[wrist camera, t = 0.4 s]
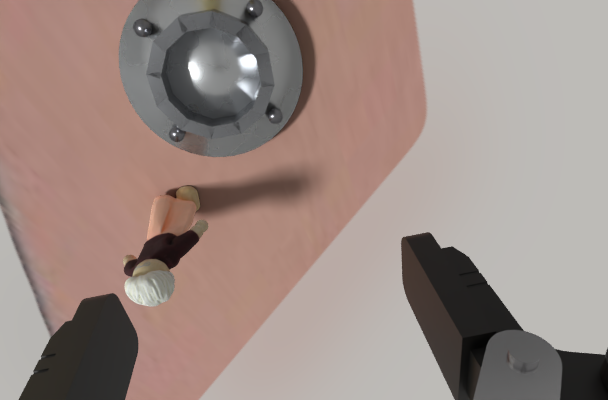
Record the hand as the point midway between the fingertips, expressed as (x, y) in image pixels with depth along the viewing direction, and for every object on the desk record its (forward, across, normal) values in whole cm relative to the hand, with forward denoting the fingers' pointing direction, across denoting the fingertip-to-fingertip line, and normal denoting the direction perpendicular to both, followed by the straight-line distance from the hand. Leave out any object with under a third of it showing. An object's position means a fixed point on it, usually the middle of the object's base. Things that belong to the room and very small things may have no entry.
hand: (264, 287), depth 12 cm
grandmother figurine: (+26, +10, +11) cm, 30 cm away
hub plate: (+26, +3, -1) cm, 26 cm away
